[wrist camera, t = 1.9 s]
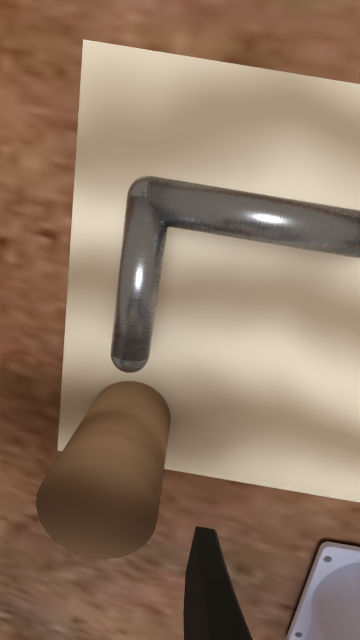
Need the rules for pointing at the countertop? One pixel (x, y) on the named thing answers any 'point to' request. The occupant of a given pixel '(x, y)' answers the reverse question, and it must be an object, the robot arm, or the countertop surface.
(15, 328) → the countertop surface
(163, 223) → the bent wire
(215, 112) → the birch board
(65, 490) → the walnut cylinder
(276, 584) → the countertop surface
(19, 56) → the countertop surface
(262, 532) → the countertop surface
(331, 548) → the robot arm
